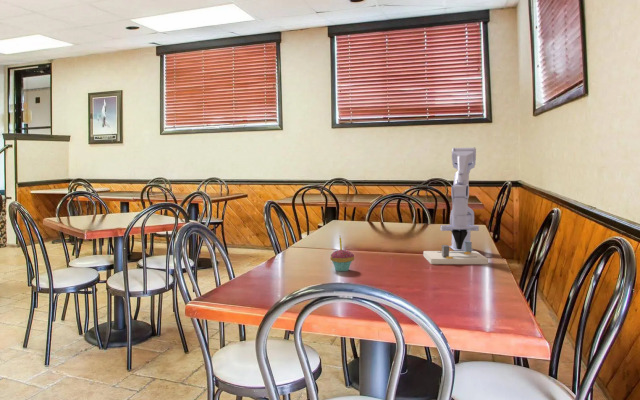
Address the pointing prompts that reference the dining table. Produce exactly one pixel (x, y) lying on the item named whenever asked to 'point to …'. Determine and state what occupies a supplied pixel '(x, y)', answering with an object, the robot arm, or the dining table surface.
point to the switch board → (455, 257)
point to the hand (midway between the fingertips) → (459, 248)
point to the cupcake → (342, 259)
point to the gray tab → (445, 250)
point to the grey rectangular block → (467, 246)
